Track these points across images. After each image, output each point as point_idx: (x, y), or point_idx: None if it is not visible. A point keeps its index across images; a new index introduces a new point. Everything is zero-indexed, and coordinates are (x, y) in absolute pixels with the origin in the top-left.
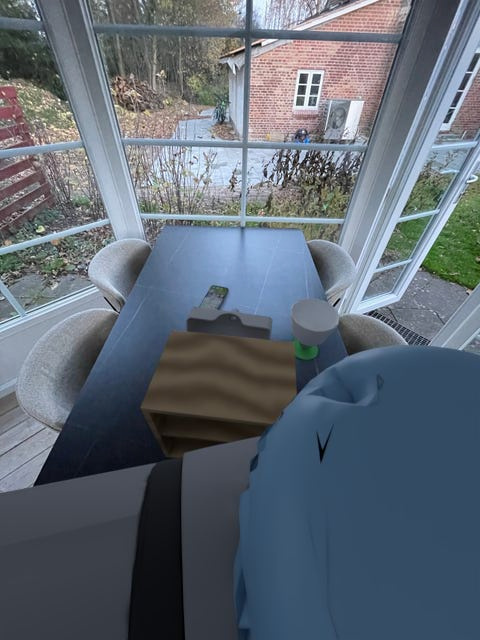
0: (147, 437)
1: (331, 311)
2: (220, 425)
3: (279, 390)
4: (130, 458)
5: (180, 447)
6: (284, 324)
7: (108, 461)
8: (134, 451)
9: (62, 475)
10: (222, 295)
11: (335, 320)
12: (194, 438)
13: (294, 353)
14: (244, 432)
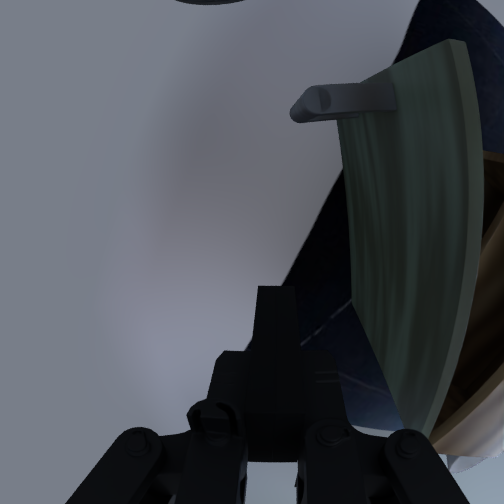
0: (493, 134)
1: (463, 464)
2: (488, 277)
3: (481, 435)
4: (478, 99)
5: None
6: None
7: (483, 72)
8: (484, 109)
9: (479, 19)
10: None
11: (452, 465)
12: (496, 222)
13: (488, 457)
14: None
